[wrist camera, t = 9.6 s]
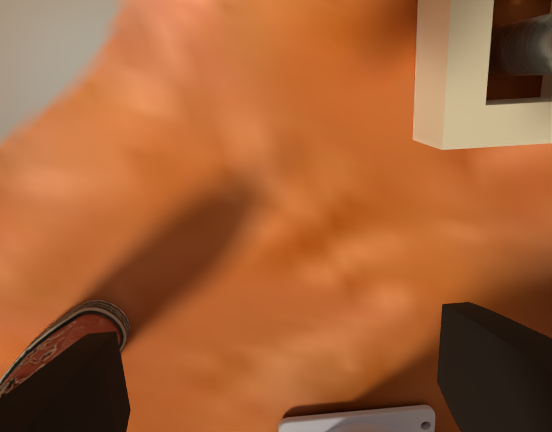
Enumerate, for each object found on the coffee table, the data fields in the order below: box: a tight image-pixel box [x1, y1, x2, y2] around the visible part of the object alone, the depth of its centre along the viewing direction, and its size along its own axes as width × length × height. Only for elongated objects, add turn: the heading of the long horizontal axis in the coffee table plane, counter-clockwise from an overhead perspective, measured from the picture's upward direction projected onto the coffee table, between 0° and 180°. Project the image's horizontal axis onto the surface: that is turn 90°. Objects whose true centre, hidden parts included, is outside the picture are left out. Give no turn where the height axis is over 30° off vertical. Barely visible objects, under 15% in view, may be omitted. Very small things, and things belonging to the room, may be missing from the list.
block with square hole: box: [413, 0, 552, 150], centre depth 17 cm, size 7×7×3 cm
